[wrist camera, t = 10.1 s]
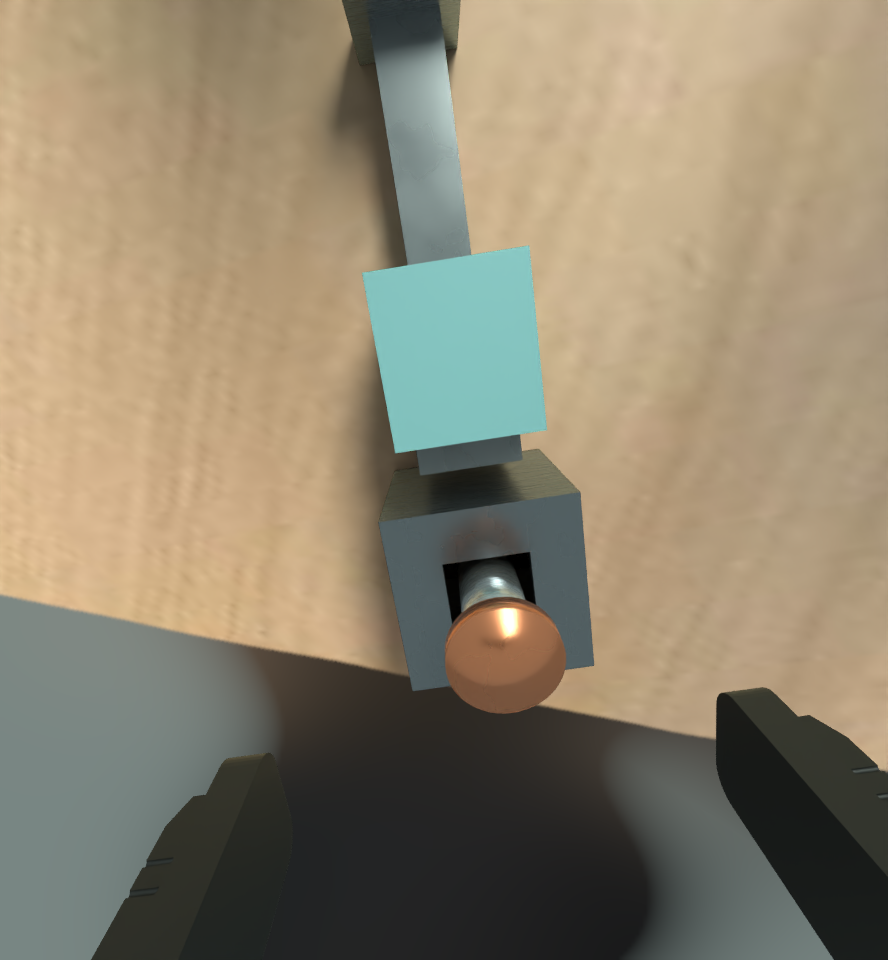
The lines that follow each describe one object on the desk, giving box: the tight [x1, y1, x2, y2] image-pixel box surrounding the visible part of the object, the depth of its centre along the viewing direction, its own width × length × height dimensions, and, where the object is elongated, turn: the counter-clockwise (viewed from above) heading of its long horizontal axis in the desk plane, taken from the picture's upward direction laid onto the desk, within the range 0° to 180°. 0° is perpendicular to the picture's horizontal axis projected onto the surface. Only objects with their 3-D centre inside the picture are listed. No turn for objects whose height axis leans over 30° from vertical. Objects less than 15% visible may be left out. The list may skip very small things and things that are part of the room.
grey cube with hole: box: [378, 449, 594, 691], centre depth 24 cm, size 8×8×8 cm
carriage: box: [362, 246, 547, 453], centre depth 20 cm, size 6×5×8 cm
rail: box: [342, 0, 523, 476], centre depth 21 cm, size 19×4×6 cm, turn 9°
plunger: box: [445, 555, 566, 714], centre depth 19 cm, size 4×4×7 cm
